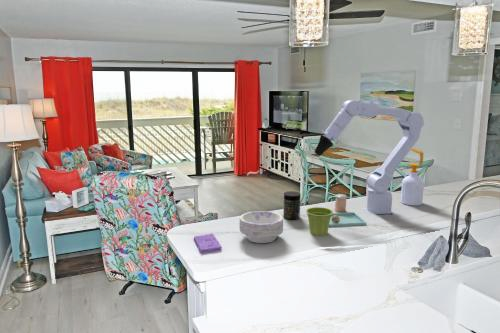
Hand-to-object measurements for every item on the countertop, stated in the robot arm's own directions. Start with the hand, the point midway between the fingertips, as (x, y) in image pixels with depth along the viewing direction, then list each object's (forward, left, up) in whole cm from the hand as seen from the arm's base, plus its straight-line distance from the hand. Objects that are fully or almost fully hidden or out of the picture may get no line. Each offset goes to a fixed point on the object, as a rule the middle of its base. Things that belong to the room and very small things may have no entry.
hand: (316, 154), depth 156 cm
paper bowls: (+26, +22, -25) cm, 43 cm away
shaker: (-11, -1, -25) cm, 27 cm away
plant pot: (+5, +21, -25) cm, 34 cm away
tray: (-7, +10, -25) cm, 28 cm away
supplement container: (+11, +4, -25) cm, 28 cm away
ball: (-4, +13, -24) cm, 28 cm away
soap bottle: (-47, -9, -25) cm, 54 cm away
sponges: (+45, +25, -26) cm, 58 cm away
